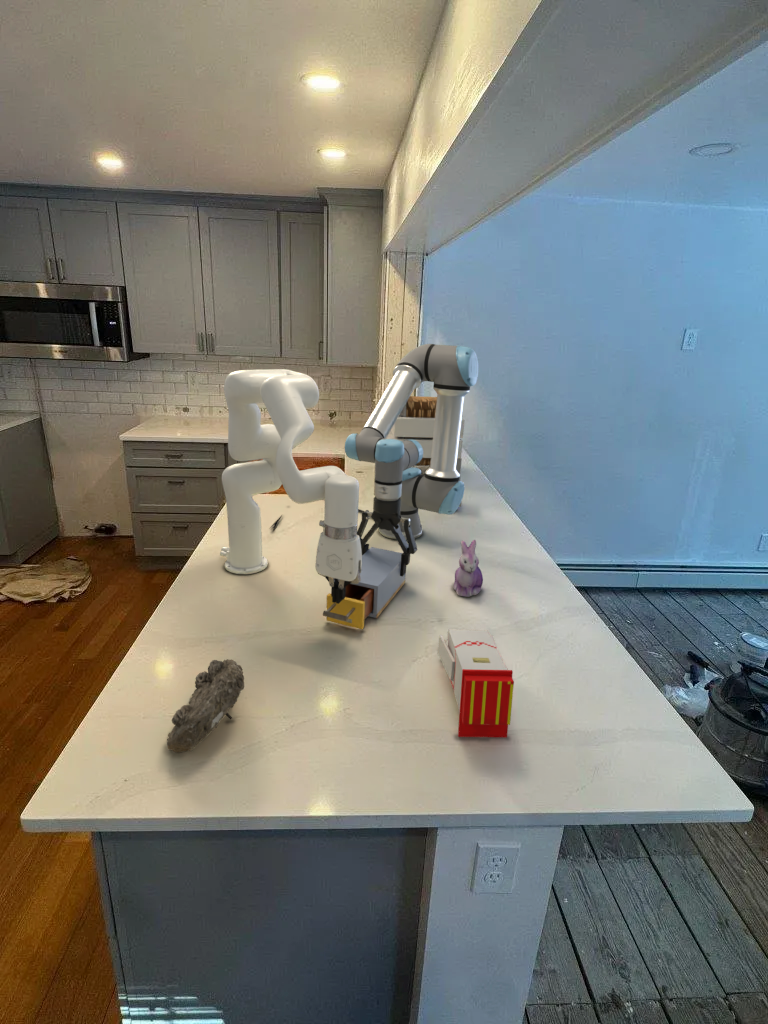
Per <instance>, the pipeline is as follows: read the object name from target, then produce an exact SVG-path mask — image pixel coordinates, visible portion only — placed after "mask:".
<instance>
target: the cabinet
mask: <svg viewBox="0 0 768 1024" xmlns="http://www.w3.org/2000/svg"><path fill="white" fill-rule="evenodd" d="M402 553H403V552H399V551H395V550H390V549H389V550H388V549H385V548H378V547H374V546H371V547H369V550H368V551H367V552H366V553H365V554H363V555H362V570H361V573H360V578H361V581H360V582H359V583H358V584H354V585H358V586H362V587H367V588H371V589H374V606H373V610H372V612H371V613H370V614H369V615H368V617H371V618H374V619H378V618H379V616H380V615H381V614H382V612H383V611H384V610H385V609H386V608H387V606H388V605H389V604H390V603H391V601H392V600H393V599H394V597H395V596H396V595H397V593H398V592H399V591H400V590H401V589H402V587H403V586H404V585H405V583H406V573H407V572H406V573H405V574H404V575H403V576H400V570H401V554H402ZM339 581H340V579H339ZM350 584H352V583H350Z"/></svg>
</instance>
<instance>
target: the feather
mask: <svg viewBox="0 0 768 1024" xmlns="http://www.w3.org/2000/svg"><path fill="white" fill-rule="evenodd" d="M282 516H283V514H281V516H280V517H278V519H277V520H275V522H274V523H273V524H272V525H271V526H270V527H269V528H268V529H271V528H272V529H273V530H272V532H274V531H275V529H276V528H277V526H278V524H279V522H280V520H281V519H282Z"/></svg>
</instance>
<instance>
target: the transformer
mask: <svg viewBox="0 0 768 1024" xmlns="http://www.w3.org/2000/svg"><path fill="white" fill-rule="evenodd" d="M436 403H437V396H415V395H414V396H413V395H412V396H411V395H410V397H409V399H408V401H407V402H406V404H405V406H404V408H403V409H402V411H401V413H400V415H399V417H398V418H397V420H396V422H395V424H394V425H393V427H392V429H391V431H390V433H389V434H388V436H387V438H386V439H395V440H400V441H404V440H410V439H413V440H416V441H417V442H419V443H420V445H421V446H422V448H423V457H422V459H421V461H420V462H419V463H417V464H416V465H415V466H414V467H417V466H418V467H430V463H431V453H432V443H433V433H434V423H435V413H436ZM464 429H465V419H464V418H462V420H461V429H460V438H459V446H458V455H457V464H456V471H457V472H458V473H459V474H460V475H461V472H462V461H463V460H462V453H463V442H464V441H463V440H462V439H463V438H464V431H465V430H464ZM459 481H461V477H460V478H459Z"/></svg>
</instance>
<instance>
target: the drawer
mask: <svg viewBox="0 0 768 1024" xmlns="http://www.w3.org/2000/svg"><path fill="white" fill-rule="evenodd" d="M373 606H374V589H371V588H367V587H362V586H358V585H354V584H348V585H347V586H346V593H345V598H344V599H343V600H342V601H341V602H340V603H339V604H338V603H336V602H335V603H334V602H332V597H331V592H328V593H327V595H326V610H323V612H322V616H323V617H326V621H327V622H331V623H335V624H339V625H342V626H347V627H351V628H355V629H359V630H363V629H364V628H365V620H366V619H367V618H368V617H369V616H368V615H369V614H370V613H371V612H372V610H373Z"/></svg>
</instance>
